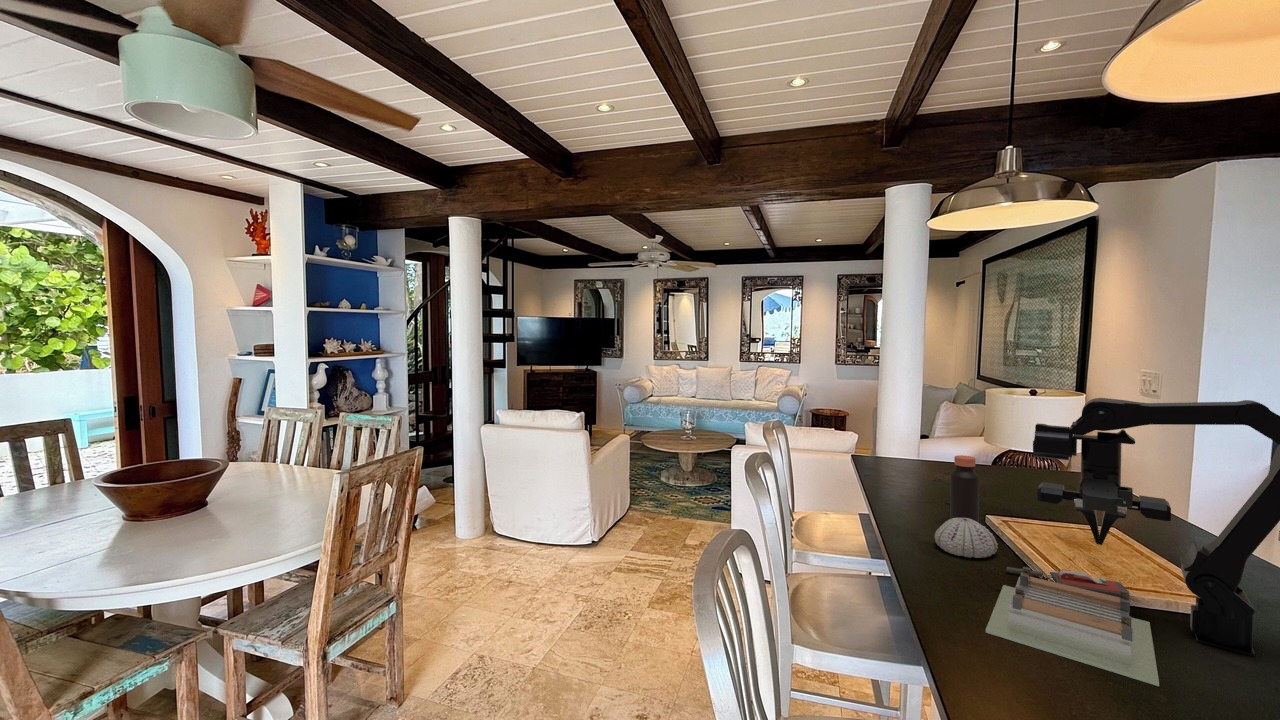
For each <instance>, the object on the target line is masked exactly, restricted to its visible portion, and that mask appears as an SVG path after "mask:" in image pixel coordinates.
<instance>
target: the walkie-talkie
mask: <svg viewBox="0 0 1280 720" xmlns="http://www.w3.org/2000/svg"><path fill="white" fill-rule="evenodd" d="M1005 570H1006V572H1008V573H1014V574H1020V575H1021V573H1022V572H1023V568H1019V567H1017V568H1016V567H1011V566H1007V567H1006V569H1005ZM1050 570H1051V569H1050ZM1051 571H1053V572H1050V574H1051V575H1048V576H1049V578H1053V580H1054V581H1055V583H1060V584H1064V585H1068V586H1073V587H1077V588H1081V589H1085V590H1090V591H1094V592H1098V593H1102V594H1107V595H1111V596H1115V597H1119V598H1120V589H1121V590H1125V591H1129V590H1128V589H1127V588H1126V587H1125V585H1123V584H1122V582H1120V581H1113V580H1108V579H1105V577H1104V576H1099V578H1095V577H1092V576H1091V575H1090V574H1087V573H1086V572H1084V571H1083V572H1082V571H1077V570H1070V569H1060V570H1059V571H1058V570H1051ZM1043 572H1044V571H1037V570H1036V571H1035V570H1031V577H1040V578H1043V577H1042V575H1043ZM1053 580H1050V581H1051V582H1054V581H1053Z"/></svg>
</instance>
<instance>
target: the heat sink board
mask: <svg viewBox="0 0 1280 720" xmlns="http://www.w3.org/2000/svg"><path fill="white" fill-rule="evenodd" d="M1022 569H1023V573H1028V574H1029V576H1030V577H1032V575H1031V571H1032V570H1031V567H1028V566H1023V567H1022ZM1014 593H1016V594H1020V595H1023V598H1025V599H1029V600H1033V601H1037V602H1041V603H1045V604H1049V605H1052V606H1056V607H1060V608H1064V609H1068V610H1072V611H1076V612H1080V613H1083V614H1087V615H1091V616H1095V617H1099V618H1103V619H1107V620H1110V621H1114V622H1118V623H1122V624H1127V625H1129V626H1130V627H1127V626H1123V625H1122V634H1119V633H1115V632H1111V631H1107V630H1104V629H1100V628H1096V627H1093V626H1089V625H1085V624H1081V623H1078V622H1074V621H1070V620H1067V619H1063V618H1059V617H1055V616H1052V615H1048V614H1044V613H1041V612H1037V611H1033V610H1030V609H1026V608H1022V597H1019V596H1015V595H1014ZM1120 598H1125V599H1127V600H1124V599H1120V607H1118V606H1114V605H1109V604H1105V603H1101V602H1097V601H1093V600H1089V599H1085V598H1081V597H1077V596H1072V595H1068V594H1064V593H1060V592H1056V591H1052V590H1048V589H1044V588H1040V587H1036V586H1032V585H1028V575H1025V574H1020V575H1019V577H1018V579H1017V581H1016V584H1015V586H1014V587H1013V586H1009V585H1006V584H1003V585H1002V587H1001V590H1000V593H999V594H998V597H997V600H996V603H995V606H994V607H993V610H992V613H991V616H990V617H989V621H988V623H987V625H986V627H985V634H989V635H992V636H995V637H998V638H999V637H1000V638H1003V639H1005V640H1008V641H1012V642H1015V643H1018V644H1021V645H1025V646H1028V647H1031V648H1034V649H1037V650H1041V651H1044V652H1047V653H1050V654H1054V655H1057V656H1060V657H1063V658H1067V659H1070V660H1072V661H1076V662H1080V663H1082V664H1085V665H1089V666H1092V667H1095V668H1098V669H1100V670H1101V669H1102V670H1105V671H1108V672H1110V673H1115V674H1118V675H1121V676H1124V677H1127V678H1130V679H1134V680H1137V681H1139V682H1143V683H1146V684H1149V685H1152V686H1156V687H1160V680H1159V679H1160V678H1159V673H1158V667H1157V660H1156V654H1155V646H1154V641H1153V636H1152V629H1151V622H1149V621H1147V620H1143V619H1139V618H1134V617H1132V616H1131V615H1130V613H1131V612H1130V611H1131V601H1130V592H1129V590H1128V591H1125V590H1121V589H1120Z"/></svg>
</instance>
